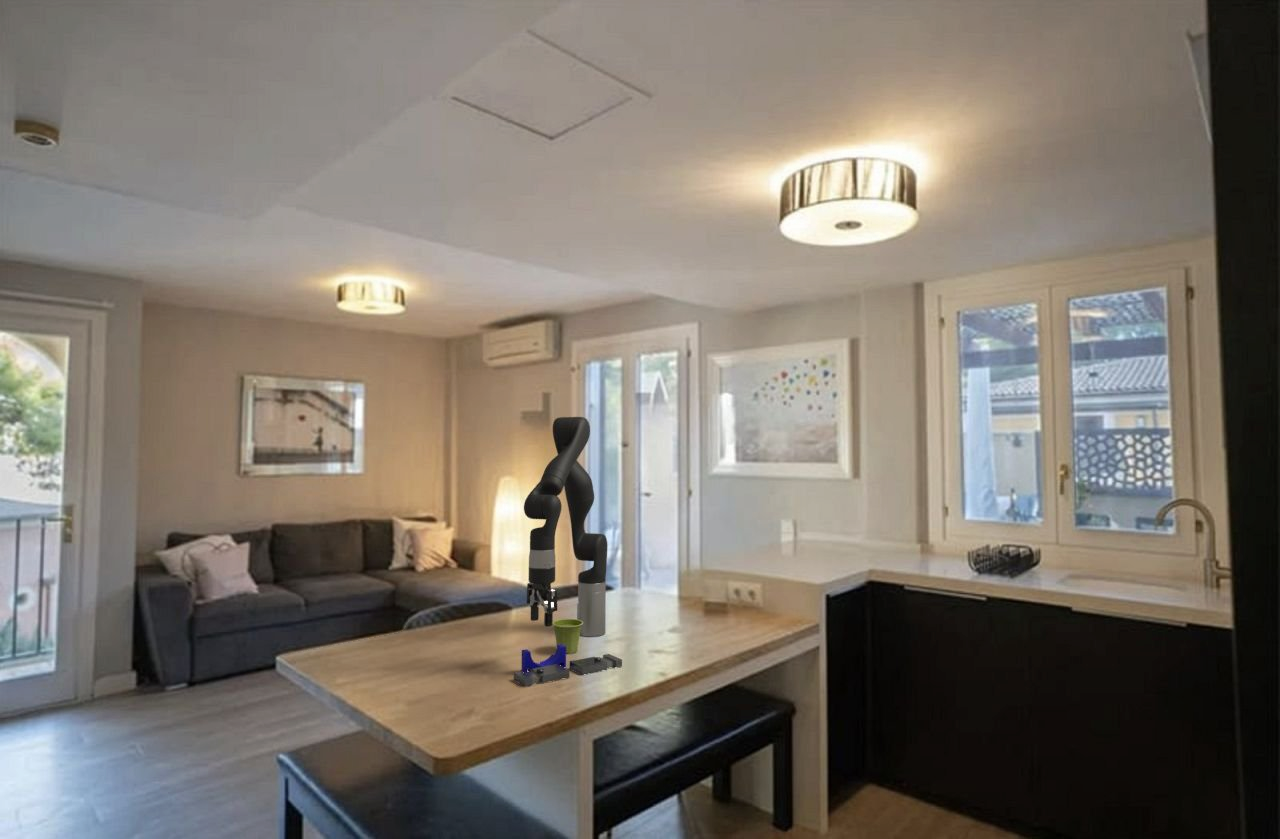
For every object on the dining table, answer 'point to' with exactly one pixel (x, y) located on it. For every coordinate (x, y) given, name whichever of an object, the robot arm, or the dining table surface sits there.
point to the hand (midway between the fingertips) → (541, 623)
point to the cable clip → (553, 659)
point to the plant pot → (568, 633)
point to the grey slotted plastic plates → (560, 672)
